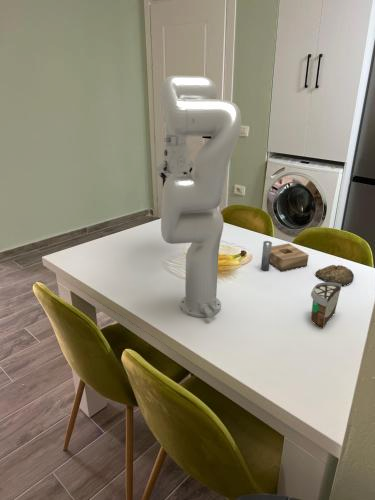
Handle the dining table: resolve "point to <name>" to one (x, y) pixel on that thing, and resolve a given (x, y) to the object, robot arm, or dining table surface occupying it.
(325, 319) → the food container
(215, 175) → the robot arm
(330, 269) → the bread roll
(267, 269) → the pin
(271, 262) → the bore block
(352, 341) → the dining table surface
